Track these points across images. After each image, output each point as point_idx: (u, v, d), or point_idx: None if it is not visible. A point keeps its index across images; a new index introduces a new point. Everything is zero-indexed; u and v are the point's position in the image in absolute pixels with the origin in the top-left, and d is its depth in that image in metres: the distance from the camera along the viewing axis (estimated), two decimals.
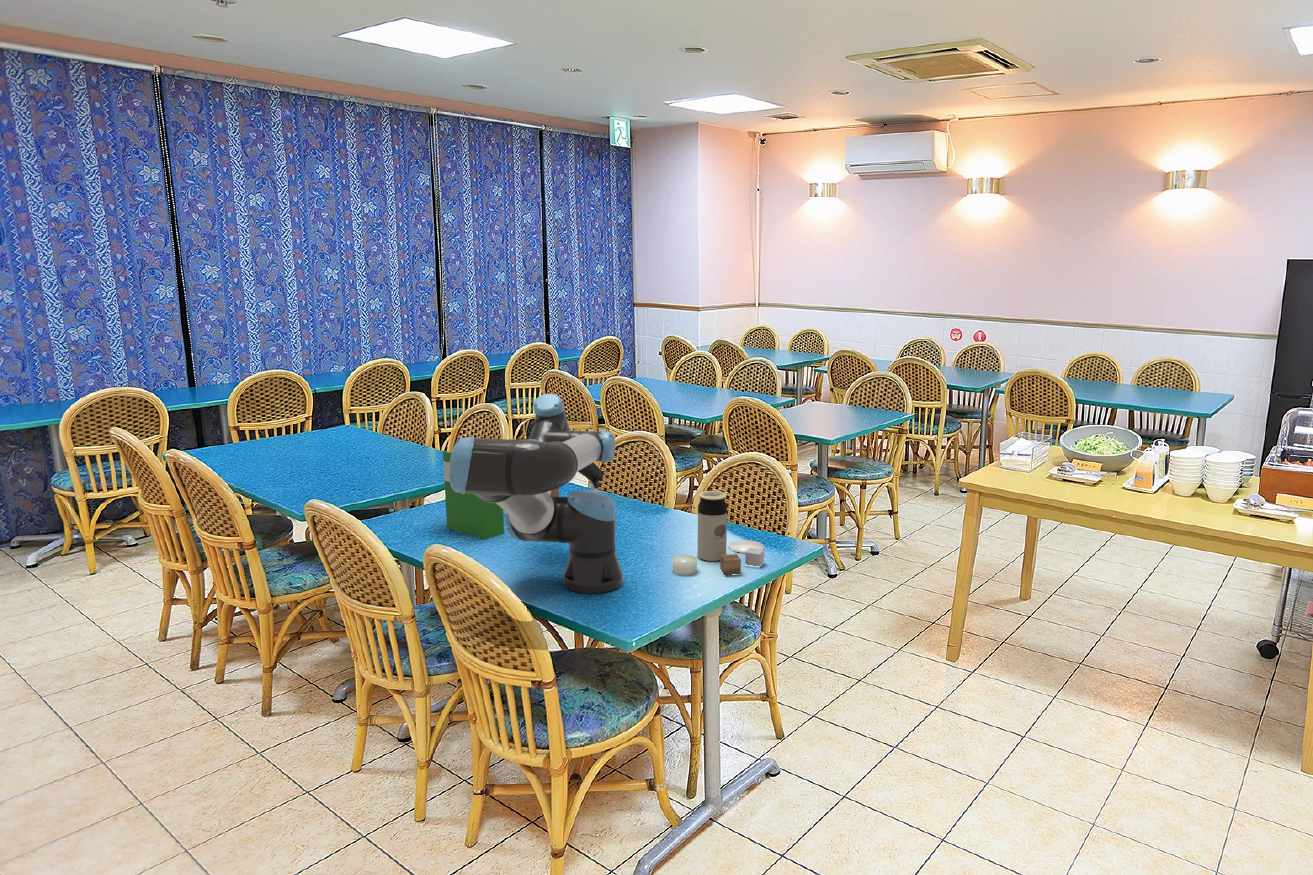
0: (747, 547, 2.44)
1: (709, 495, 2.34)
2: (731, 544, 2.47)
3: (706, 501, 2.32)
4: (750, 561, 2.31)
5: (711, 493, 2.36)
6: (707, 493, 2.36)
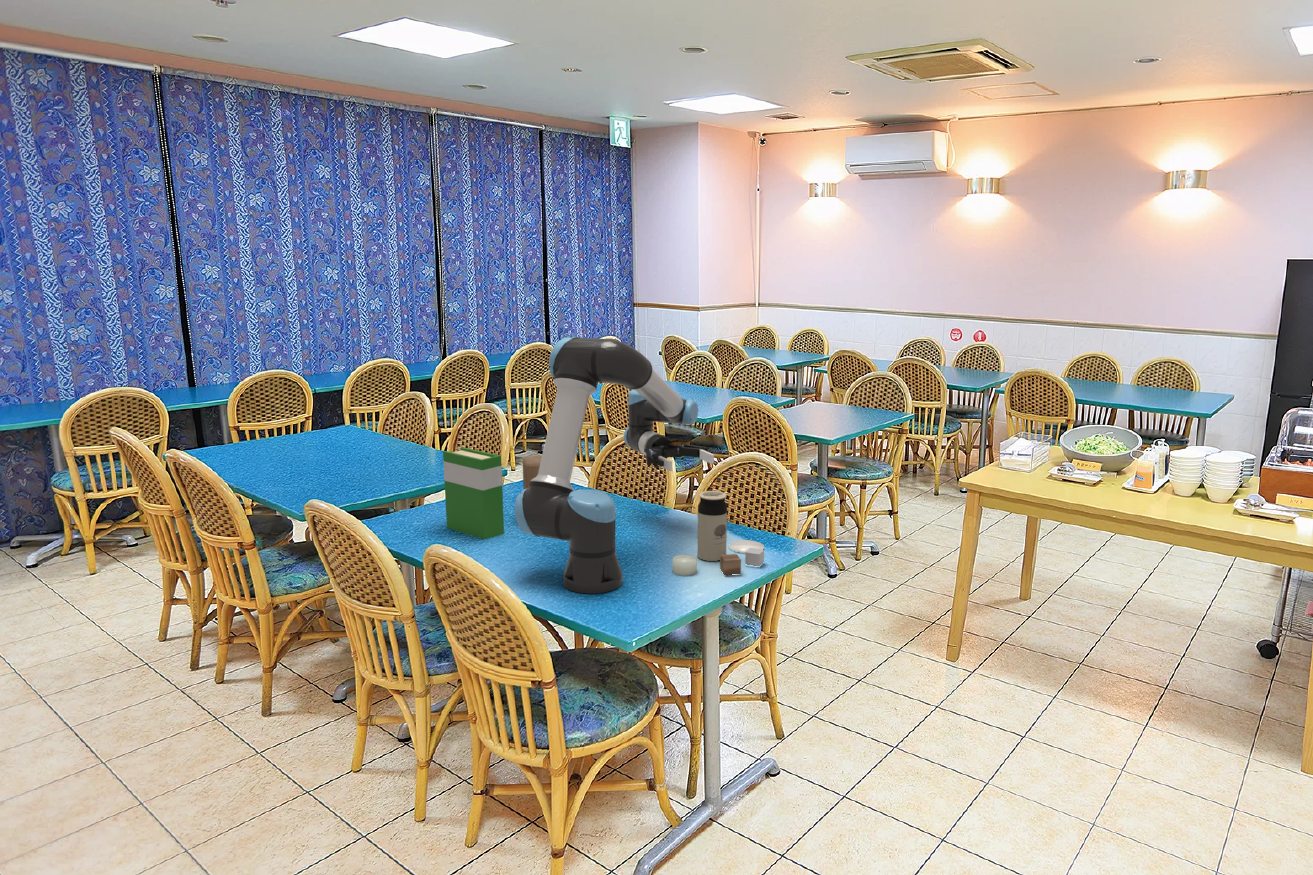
0: (747, 547, 2.44)
1: (709, 495, 2.34)
2: (731, 544, 2.47)
3: (706, 501, 2.32)
4: (750, 561, 2.31)
5: (711, 493, 2.36)
6: (707, 493, 2.36)
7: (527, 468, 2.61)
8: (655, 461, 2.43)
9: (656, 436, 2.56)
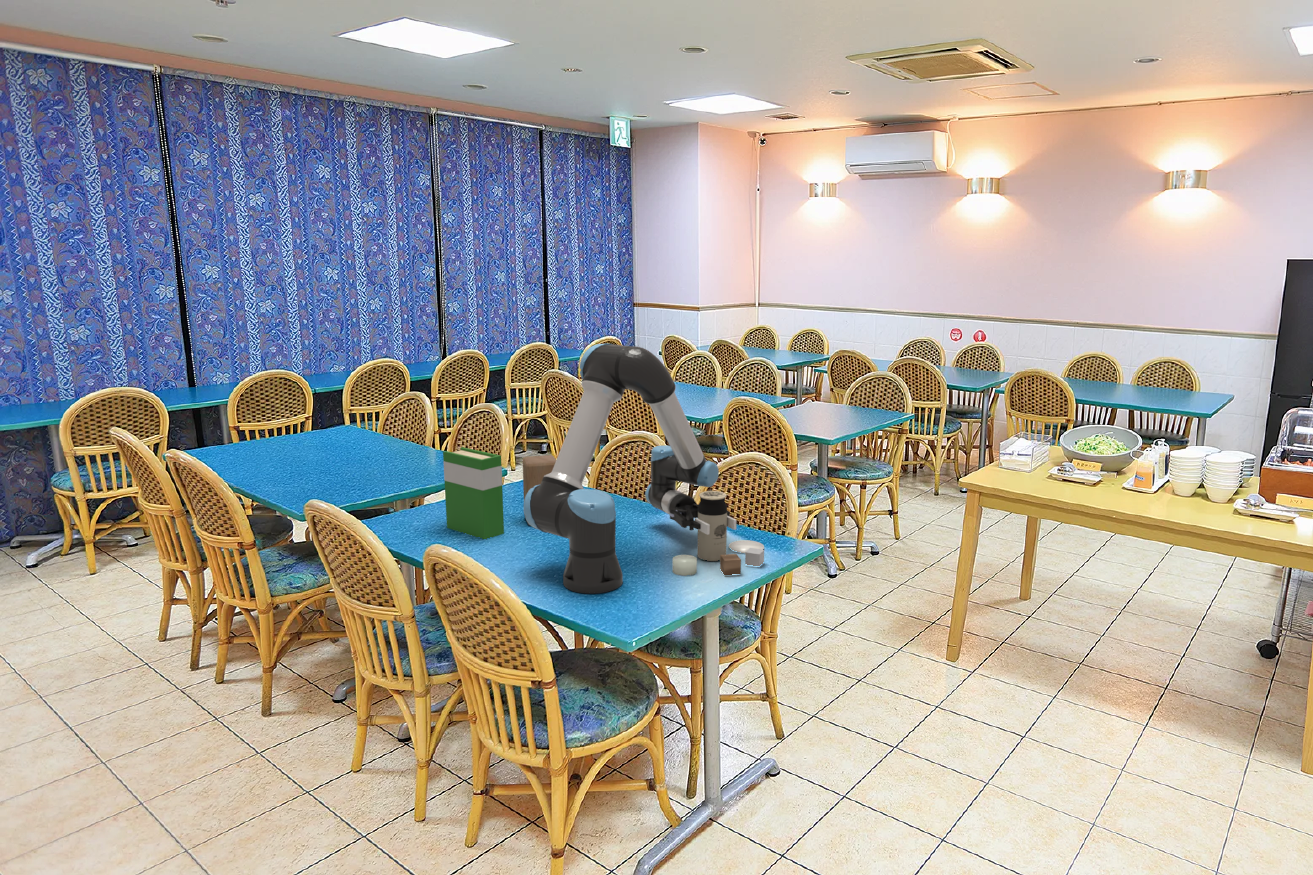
0: (747, 547, 2.44)
1: (709, 495, 2.34)
2: (731, 544, 2.47)
3: (706, 501, 2.32)
4: (750, 561, 2.31)
5: (711, 493, 2.36)
6: (707, 493, 2.36)
7: (527, 468, 2.61)
8: (691, 523, 2.35)
9: (680, 495, 2.49)
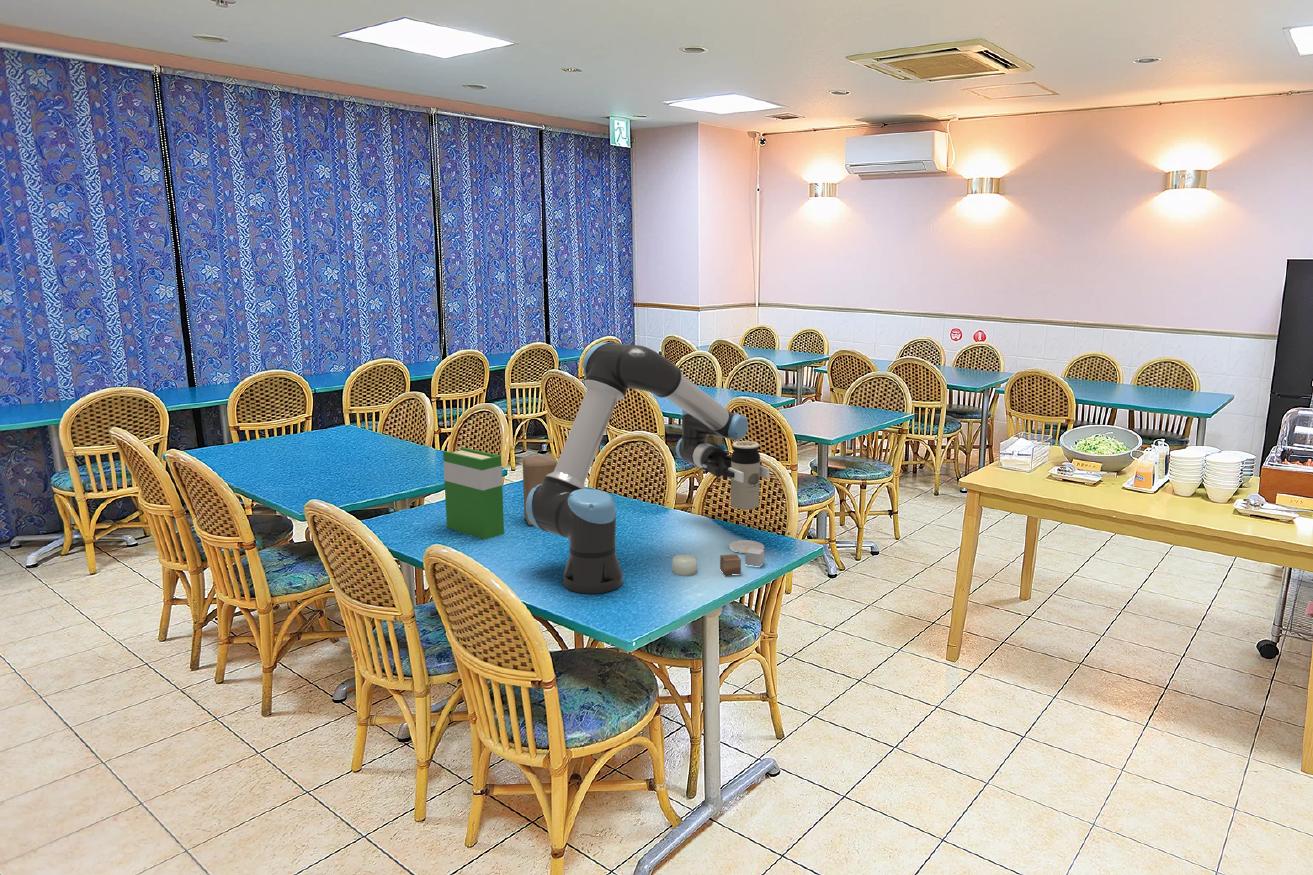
0: (747, 547, 2.44)
1: (742, 444, 2.38)
2: (731, 544, 2.47)
3: (739, 450, 2.37)
4: (750, 561, 2.31)
5: (744, 443, 2.40)
6: (740, 443, 2.40)
7: (527, 468, 2.61)
8: (725, 472, 2.39)
9: (712, 448, 2.53)
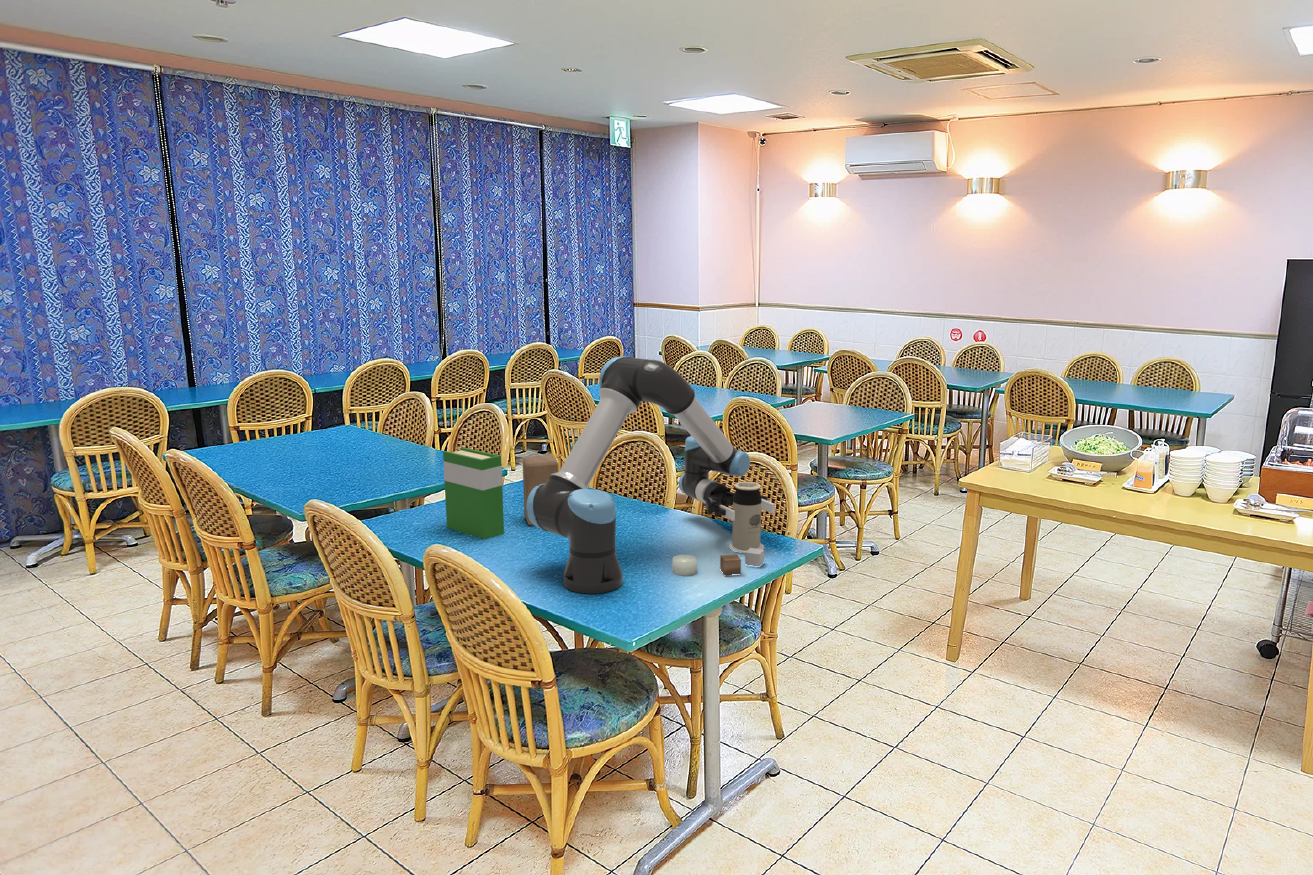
0: None
1: (744, 485, 2.41)
2: (731, 544, 2.47)
3: (741, 491, 2.39)
4: (750, 561, 2.31)
5: (746, 484, 2.43)
6: (742, 484, 2.43)
7: (527, 468, 2.61)
8: (716, 510, 2.42)
9: (714, 484, 2.56)
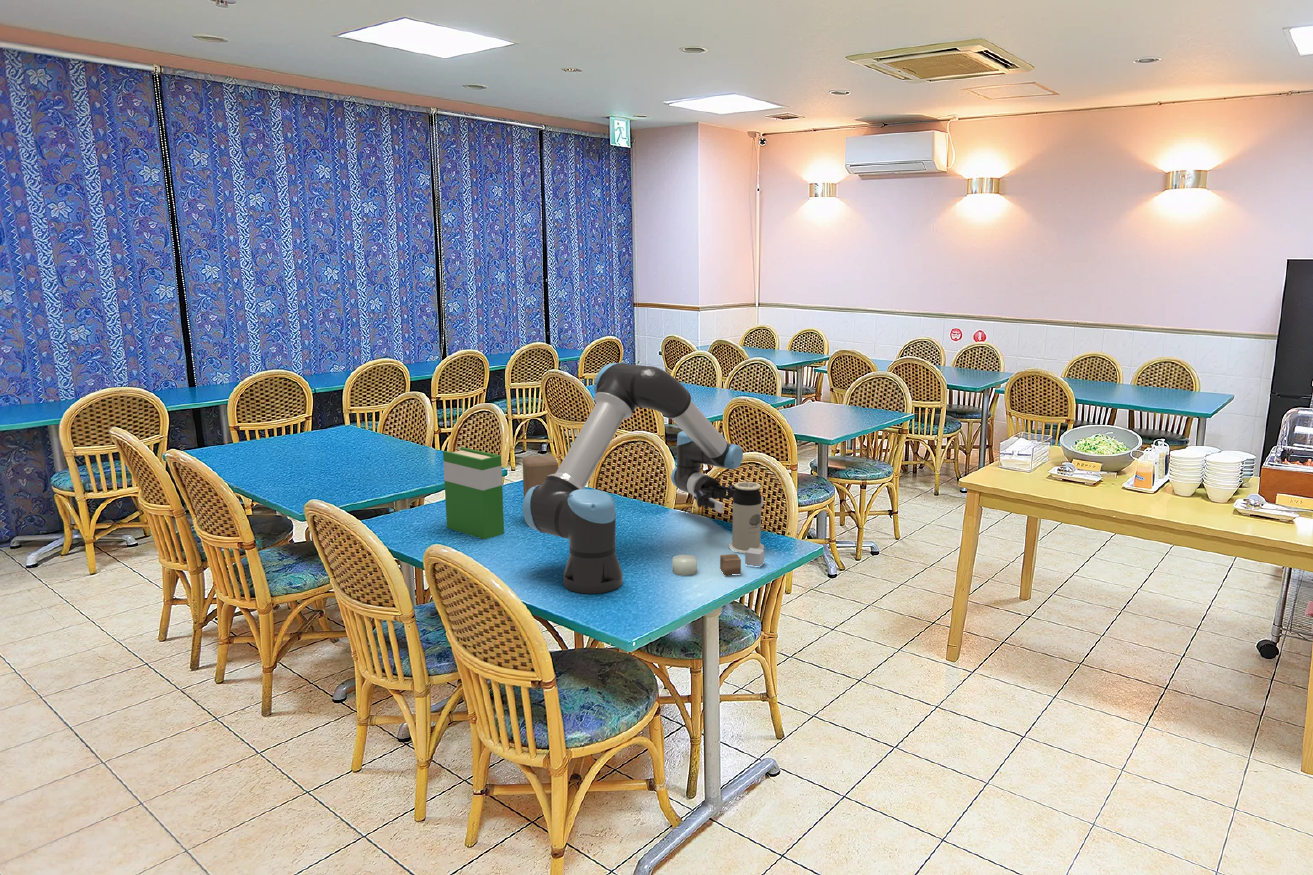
0: None
1: (744, 485, 2.41)
2: (731, 544, 2.47)
3: (741, 491, 2.39)
4: (750, 561, 2.31)
5: (746, 484, 2.43)
6: (742, 484, 2.43)
7: (527, 468, 2.61)
8: (706, 503, 2.48)
9: (705, 477, 2.61)
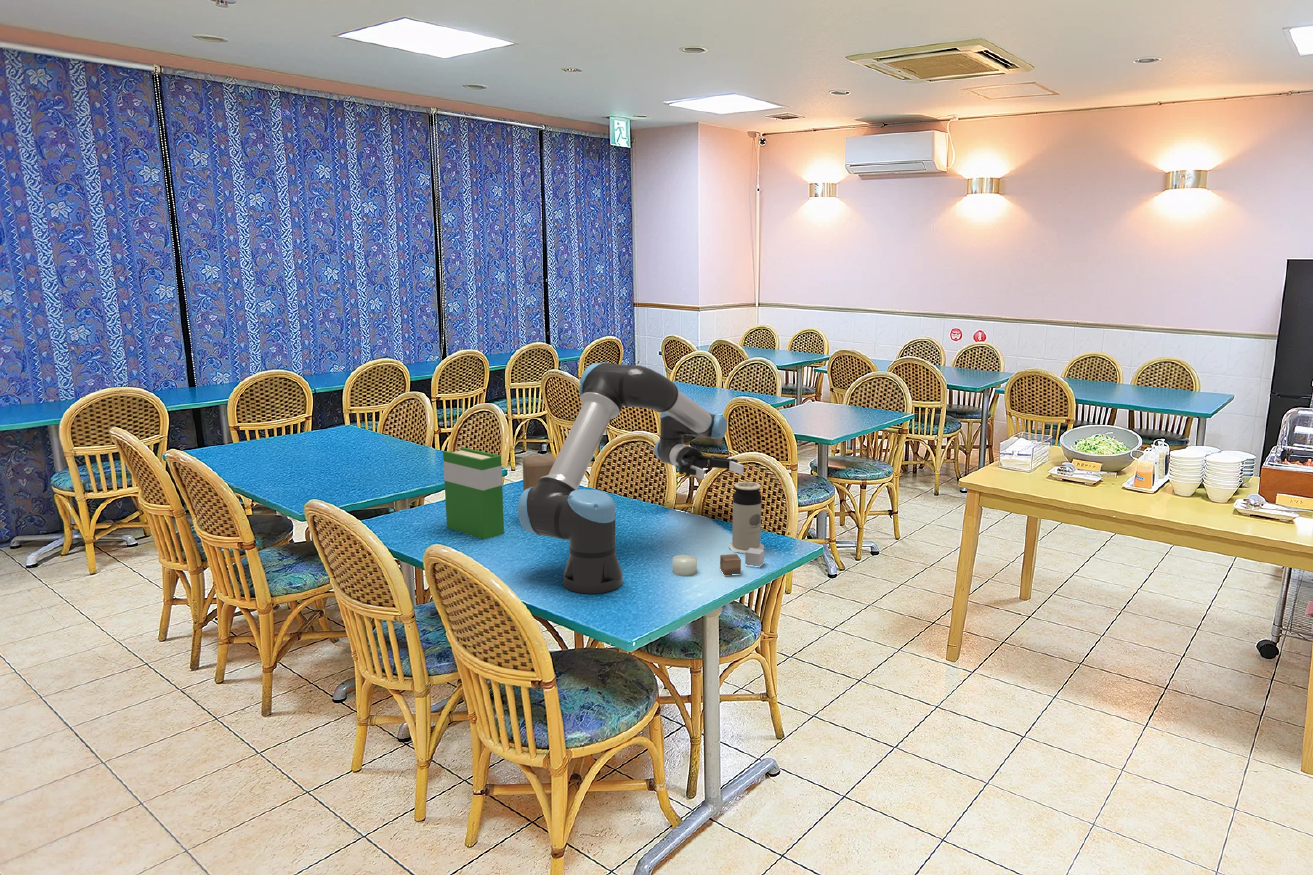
0: None
1: (744, 485, 2.41)
2: (731, 544, 2.47)
3: (741, 491, 2.40)
4: (750, 561, 2.31)
5: (746, 484, 2.43)
6: (742, 484, 2.43)
7: (527, 468, 2.61)
8: (687, 470, 2.53)
9: (687, 448, 2.67)
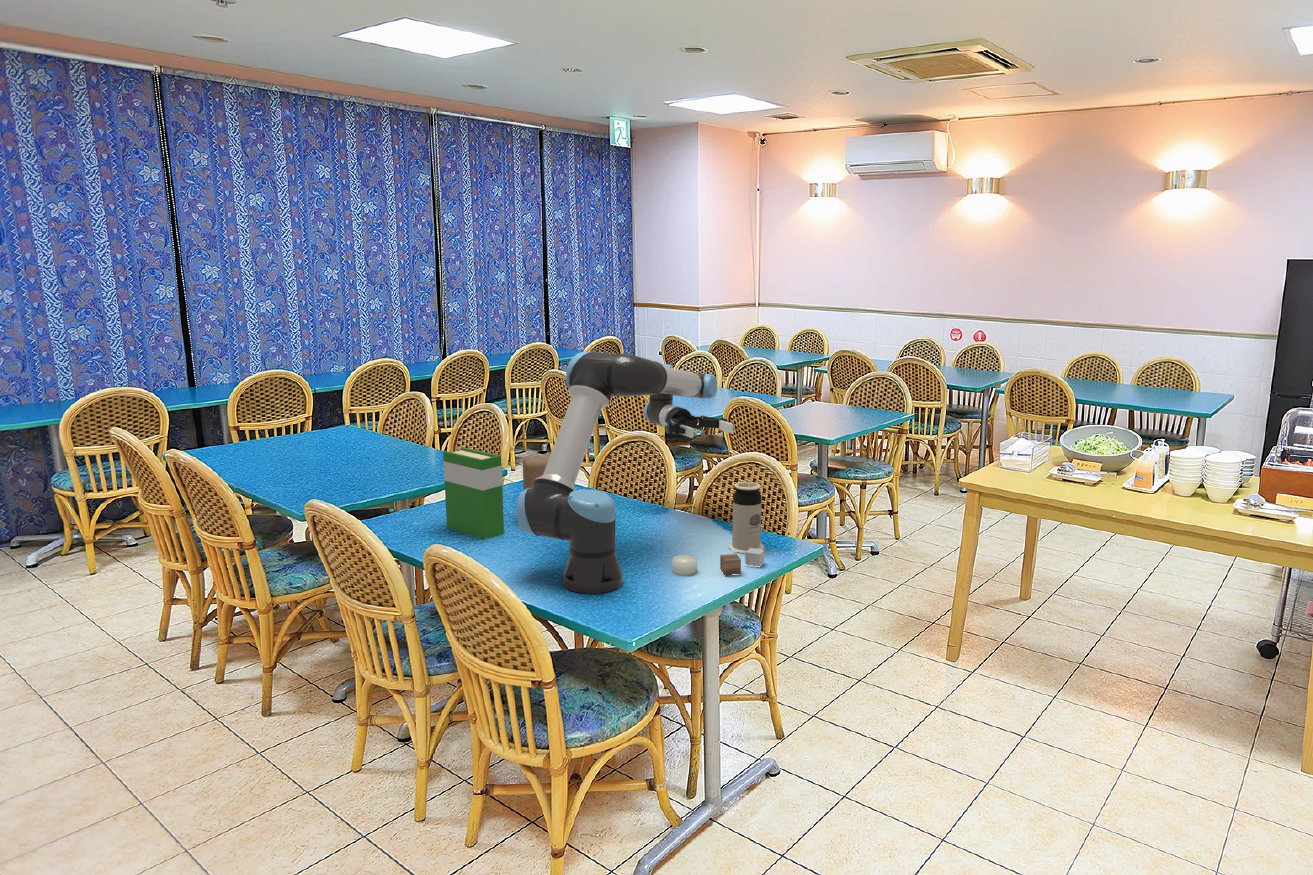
0: None
1: (744, 485, 2.41)
2: (731, 544, 2.47)
3: (741, 491, 2.39)
4: (750, 561, 2.31)
5: (746, 484, 2.43)
6: (742, 484, 2.43)
7: (527, 468, 2.61)
8: (676, 429, 2.50)
9: (677, 408, 2.64)
